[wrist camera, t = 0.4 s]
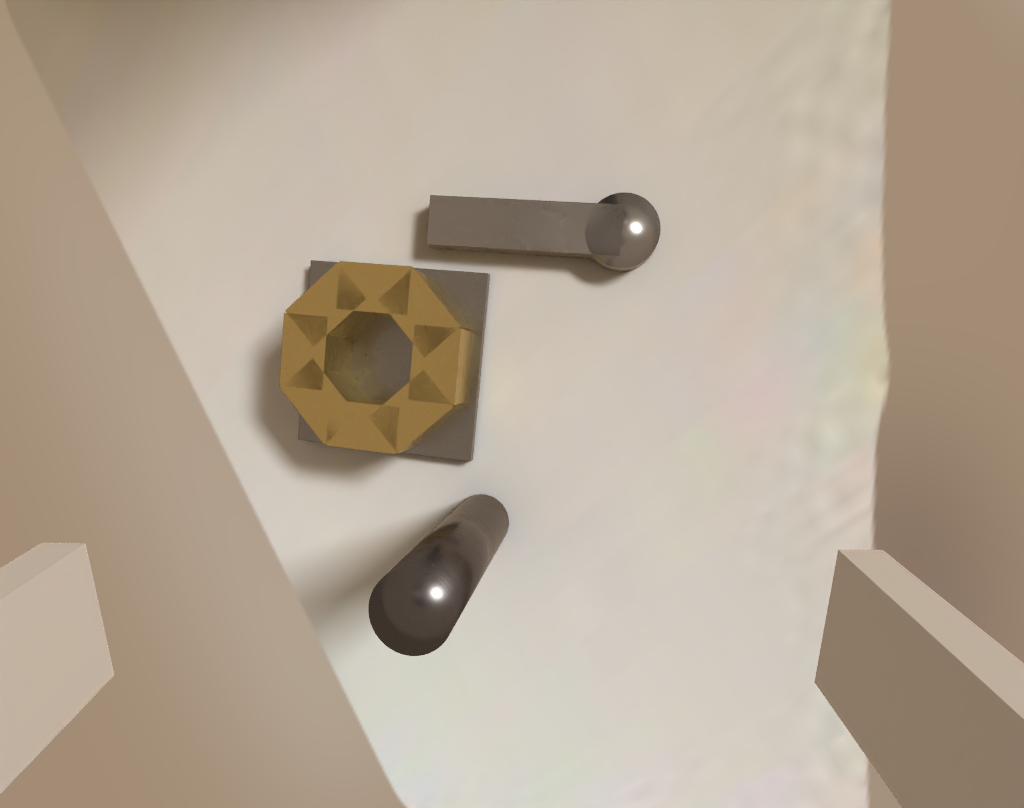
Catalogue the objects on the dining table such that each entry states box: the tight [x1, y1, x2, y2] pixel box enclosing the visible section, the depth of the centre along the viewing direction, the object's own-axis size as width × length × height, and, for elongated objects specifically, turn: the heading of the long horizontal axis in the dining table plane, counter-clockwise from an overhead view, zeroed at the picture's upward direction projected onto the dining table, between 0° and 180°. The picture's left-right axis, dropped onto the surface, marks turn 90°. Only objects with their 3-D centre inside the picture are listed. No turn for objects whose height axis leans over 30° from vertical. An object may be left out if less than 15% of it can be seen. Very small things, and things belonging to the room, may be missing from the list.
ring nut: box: [279, 260, 490, 461], centre depth 34 cm, size 12×12×4 cm
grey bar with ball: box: [426, 193, 660, 272], centre depth 34 cm, size 14×4×1 cm, turn 84°
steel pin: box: [369, 494, 509, 656], centre depth 29 cm, size 4×4×14 cm
